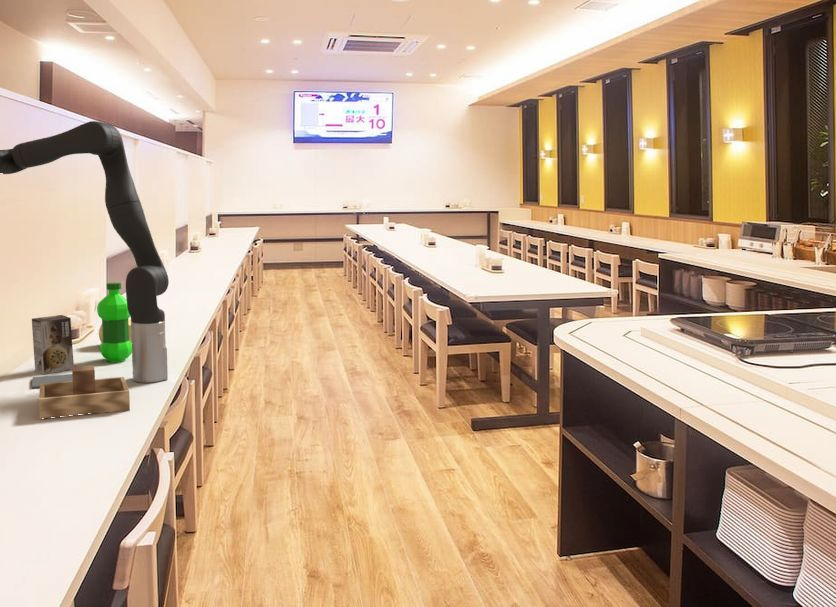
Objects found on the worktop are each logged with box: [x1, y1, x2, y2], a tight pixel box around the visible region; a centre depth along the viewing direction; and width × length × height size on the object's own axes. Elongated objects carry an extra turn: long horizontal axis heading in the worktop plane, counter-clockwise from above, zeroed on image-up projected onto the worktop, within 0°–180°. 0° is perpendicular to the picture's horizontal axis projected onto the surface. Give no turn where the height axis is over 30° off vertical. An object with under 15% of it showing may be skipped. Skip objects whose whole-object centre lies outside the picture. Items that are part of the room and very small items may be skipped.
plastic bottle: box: [96, 282, 132, 363], centre depth 229 cm, size 10×10×25 cm
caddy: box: [38, 376, 131, 420], centre depth 182 cm, size 20×15×5 cm
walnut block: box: [71, 364, 96, 395], centre depth 182 cm, size 5×5×10 cm
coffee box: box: [31, 314, 75, 375], centre depth 216 cm, size 9×6×16 cm
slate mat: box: [31, 373, 73, 390], centre depth 204 cm, size 11×11×1 cm
